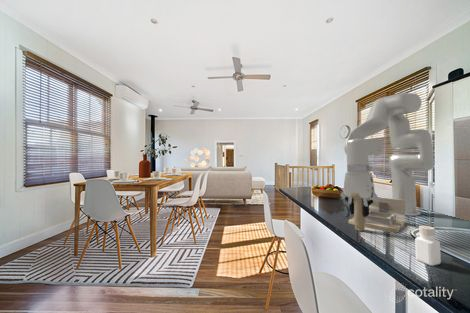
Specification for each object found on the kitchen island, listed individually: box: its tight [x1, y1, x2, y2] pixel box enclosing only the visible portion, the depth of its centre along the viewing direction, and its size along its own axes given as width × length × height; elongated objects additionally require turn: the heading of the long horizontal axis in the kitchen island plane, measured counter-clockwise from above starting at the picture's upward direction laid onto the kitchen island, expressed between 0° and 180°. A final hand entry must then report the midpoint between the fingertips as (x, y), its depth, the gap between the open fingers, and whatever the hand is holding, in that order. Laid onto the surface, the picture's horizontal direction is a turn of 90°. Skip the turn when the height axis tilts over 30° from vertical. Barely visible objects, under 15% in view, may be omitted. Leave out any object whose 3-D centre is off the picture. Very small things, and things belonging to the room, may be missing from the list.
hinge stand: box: [347, 196, 406, 234], centre depth 91 cm, size 16×17×10 cm
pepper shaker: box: [414, 225, 442, 267], centre depth 57 cm, size 4×4×10 cm
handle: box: [350, 193, 365, 232], centre depth 84 cm, size 5×6×15 cm
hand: (359, 214), depth 84 cm, fingers closed on handle, 4 cm apart
